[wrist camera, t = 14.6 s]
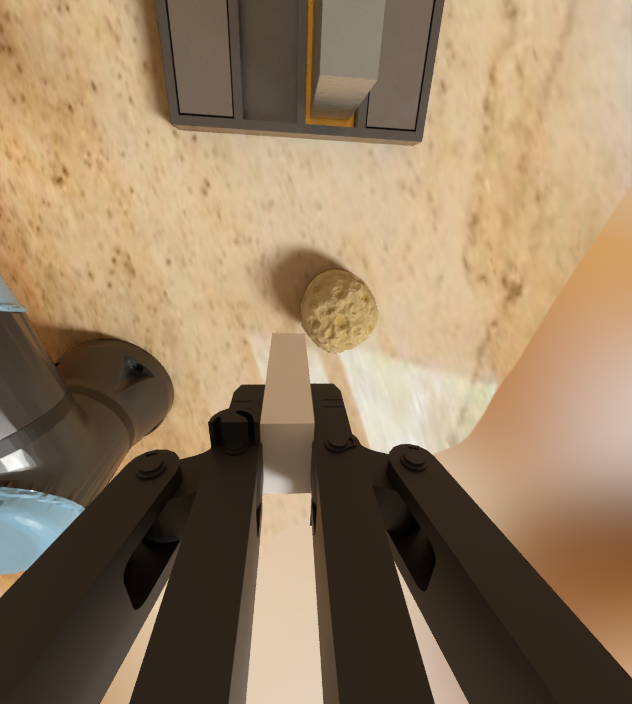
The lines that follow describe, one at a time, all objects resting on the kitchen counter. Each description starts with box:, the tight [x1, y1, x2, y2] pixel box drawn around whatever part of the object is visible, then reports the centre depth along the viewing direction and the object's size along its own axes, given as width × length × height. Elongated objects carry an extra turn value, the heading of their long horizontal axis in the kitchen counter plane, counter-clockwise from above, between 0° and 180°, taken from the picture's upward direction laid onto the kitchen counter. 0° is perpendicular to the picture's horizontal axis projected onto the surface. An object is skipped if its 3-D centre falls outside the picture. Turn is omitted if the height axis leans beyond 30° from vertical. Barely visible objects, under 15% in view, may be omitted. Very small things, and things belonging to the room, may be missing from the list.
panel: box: [310, 0, 386, 121], centre depth 25 cm, size 4×10×12 cm, turn 177°
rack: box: [155, 0, 444, 146], centre depth 29 cm, size 25×14×3 cm, turn 87°
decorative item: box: [300, 269, 379, 353], centre depth 39 cm, size 10×10×10 cm
